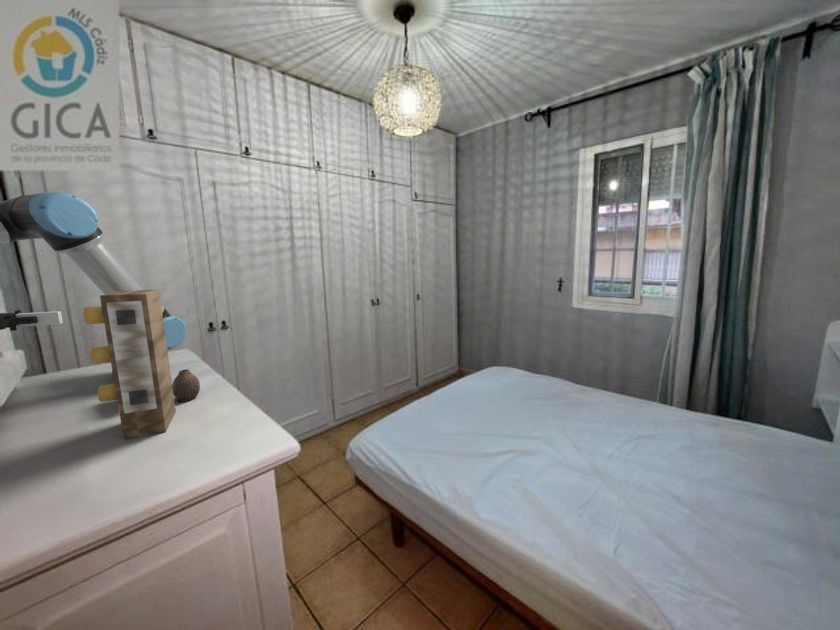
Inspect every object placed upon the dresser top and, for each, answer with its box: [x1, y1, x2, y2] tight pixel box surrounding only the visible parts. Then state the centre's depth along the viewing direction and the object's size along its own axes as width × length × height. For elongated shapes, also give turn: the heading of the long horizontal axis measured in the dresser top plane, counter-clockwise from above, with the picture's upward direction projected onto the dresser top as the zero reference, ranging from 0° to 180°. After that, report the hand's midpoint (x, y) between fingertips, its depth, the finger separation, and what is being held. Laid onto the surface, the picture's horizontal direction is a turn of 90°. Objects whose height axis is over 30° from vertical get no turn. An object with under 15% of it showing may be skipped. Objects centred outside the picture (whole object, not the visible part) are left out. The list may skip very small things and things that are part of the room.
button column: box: [99, 288, 177, 441], centre depth 82 cm, size 8×13×34 cm, turn 26°
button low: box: [97, 383, 117, 403], centre depth 80 cm, size 4×4×4 cm
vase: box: [172, 369, 201, 402], centre depth 100 cm, size 7×7×9 cm
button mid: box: [90, 345, 111, 365], centre depth 79 cm, size 4×4×4 cm
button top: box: [82, 305, 104, 325], centre depth 77 cm, size 4×4×4 cm
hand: (60, 317), depth 74 cm, fingers closed
